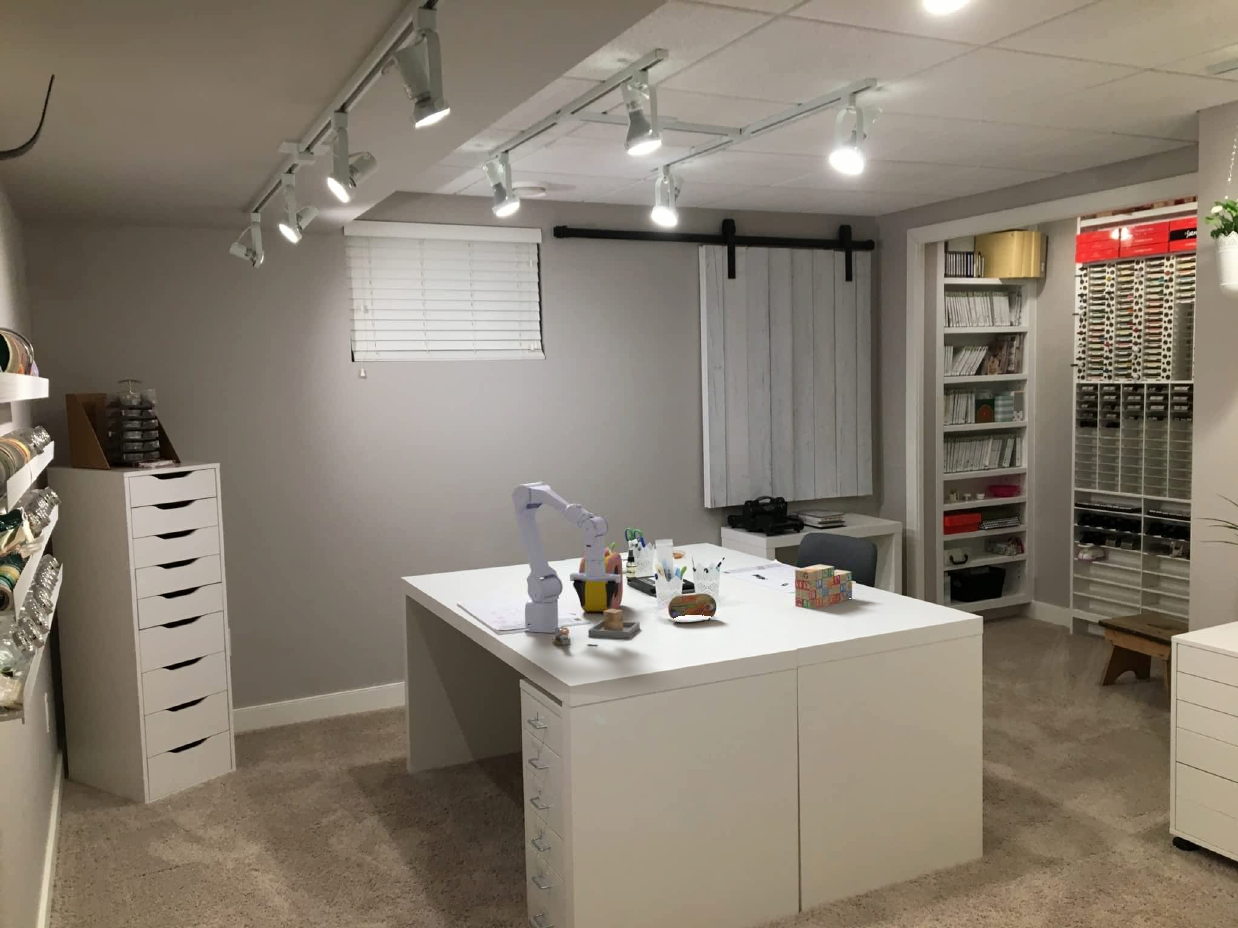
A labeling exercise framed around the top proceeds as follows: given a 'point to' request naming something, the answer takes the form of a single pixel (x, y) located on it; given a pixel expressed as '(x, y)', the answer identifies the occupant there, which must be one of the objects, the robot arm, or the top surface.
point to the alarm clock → (603, 585)
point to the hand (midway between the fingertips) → (595, 606)
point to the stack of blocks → (821, 586)
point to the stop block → (613, 620)
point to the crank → (562, 635)
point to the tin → (692, 605)
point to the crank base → (558, 642)
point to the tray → (627, 632)
